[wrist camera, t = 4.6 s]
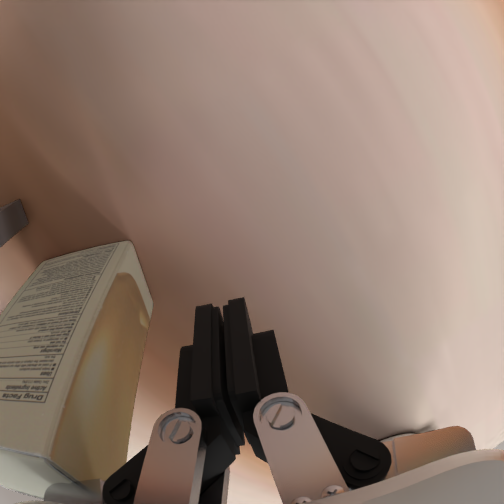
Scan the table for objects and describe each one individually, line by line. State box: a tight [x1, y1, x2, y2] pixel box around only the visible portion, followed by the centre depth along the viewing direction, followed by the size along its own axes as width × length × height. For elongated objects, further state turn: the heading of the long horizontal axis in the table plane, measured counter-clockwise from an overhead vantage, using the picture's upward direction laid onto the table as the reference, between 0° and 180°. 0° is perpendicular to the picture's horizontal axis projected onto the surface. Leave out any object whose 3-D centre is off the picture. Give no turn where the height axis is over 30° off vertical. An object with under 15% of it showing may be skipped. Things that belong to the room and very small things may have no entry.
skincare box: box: [0, 241, 153, 500], centre depth 11 cm, size 6×4×12 cm
